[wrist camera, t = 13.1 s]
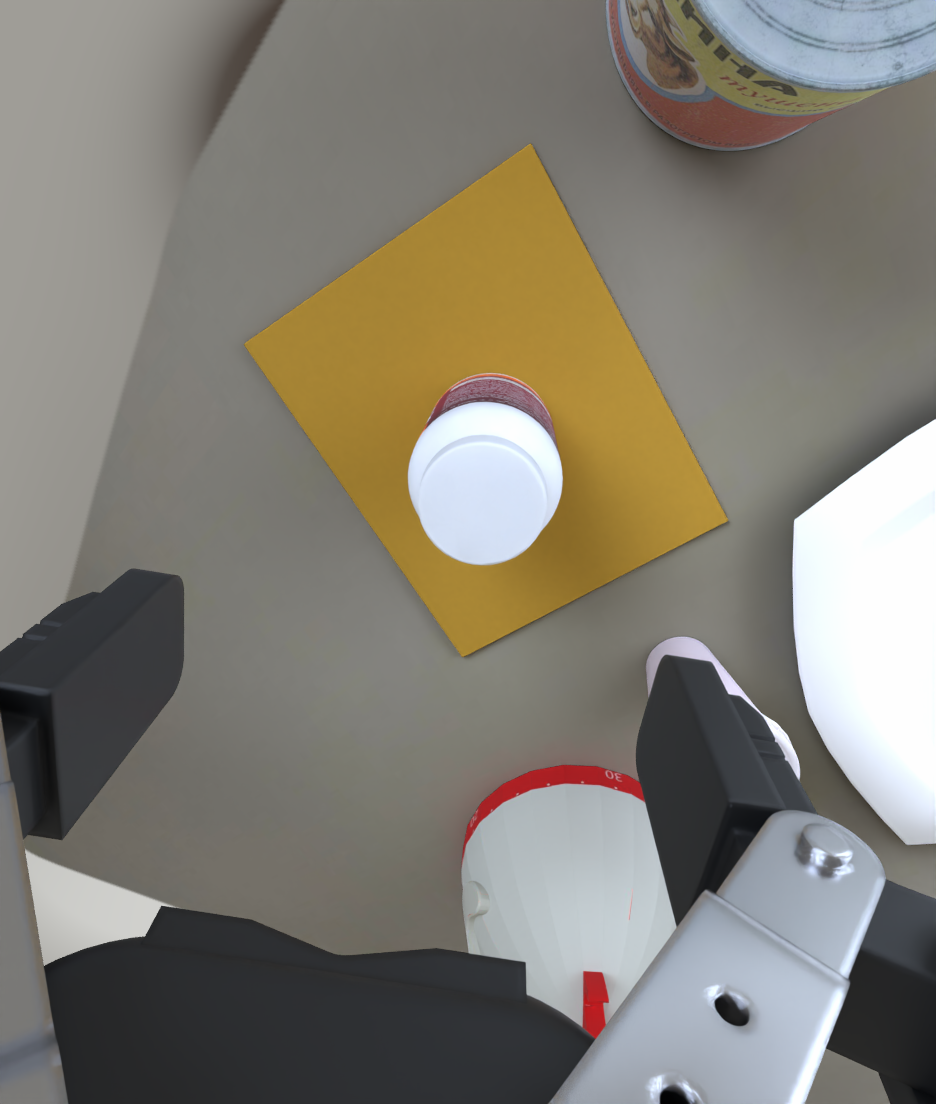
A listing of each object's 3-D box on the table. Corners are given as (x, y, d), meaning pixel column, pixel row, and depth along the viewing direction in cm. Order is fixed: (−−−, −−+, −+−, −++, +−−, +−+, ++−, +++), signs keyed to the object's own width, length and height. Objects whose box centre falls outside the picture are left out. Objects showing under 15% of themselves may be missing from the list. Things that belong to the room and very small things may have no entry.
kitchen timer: (462, 928, 49) (441, 1192, 35) (463, 760, 44) (440, 991, 30) (671, 940, 48) (734, 1214, 35) (697, 771, 43) (784, 1013, 29)
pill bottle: (414, 387, 35) (374, 439, 25) (539, 357, 35) (549, 399, 24) (445, 506, 38) (420, 598, 27) (564, 480, 37) (583, 566, 27)
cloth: (245, 343, 36) (243, 344, 35) (530, 144, 32) (531, 142, 31) (462, 655, 41) (462, 657, 41) (726, 518, 37) (728, 520, 37)
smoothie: (761, 644, 40) (880, 830, 27) (698, 730, 42) (779, 940, 29) (659, 596, 39) (731, 763, 26) (600, 686, 41) (639, 881, 29)
